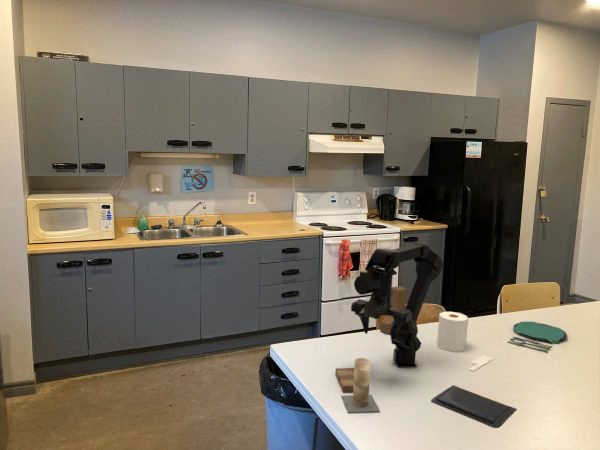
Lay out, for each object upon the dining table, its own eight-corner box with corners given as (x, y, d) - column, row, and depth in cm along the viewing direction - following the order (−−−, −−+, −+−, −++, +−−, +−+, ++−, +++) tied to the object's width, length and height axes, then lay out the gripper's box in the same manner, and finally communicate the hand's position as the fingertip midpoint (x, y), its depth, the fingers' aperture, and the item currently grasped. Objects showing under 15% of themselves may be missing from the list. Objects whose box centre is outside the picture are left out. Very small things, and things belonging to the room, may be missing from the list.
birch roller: (368, 400, 140) (371, 359, 138) (367, 407, 135) (370, 365, 134) (353, 398, 141) (355, 357, 139) (351, 405, 136) (354, 363, 134)
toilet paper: (462, 354, 176) (465, 322, 174) (433, 347, 181) (436, 316, 179) (467, 345, 185) (470, 314, 183) (440, 339, 190) (442, 309, 188)
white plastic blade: (459, 367, 166) (459, 364, 165) (480, 356, 176) (480, 353, 176) (473, 372, 162) (473, 369, 162) (493, 361, 172) (493, 358, 172)
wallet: (429, 396, 141) (454, 380, 152) (428, 402, 142) (453, 386, 152) (496, 425, 127) (519, 406, 138) (496, 432, 128) (518, 412, 138)
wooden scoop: (386, 334, 192) (389, 291, 189) (379, 331, 196) (382, 288, 193) (404, 331, 197) (407, 288, 194) (396, 327, 200) (399, 285, 198)
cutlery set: (571, 334, 201) (572, 329, 200) (552, 357, 178) (552, 351, 178) (521, 322, 213) (521, 317, 213) (497, 342, 191) (497, 336, 191)
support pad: (371, 396, 143) (371, 394, 143) (379, 412, 134) (380, 410, 134) (341, 396, 142) (341, 395, 142) (348, 413, 133) (348, 411, 133)
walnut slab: (335, 374, 156) (335, 368, 156) (356, 373, 157) (356, 368, 157) (343, 392, 144) (343, 386, 144) (365, 392, 145) (366, 385, 145)
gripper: (344, 289, 151) (341, 337, 153) (400, 301, 141) (397, 352, 143) (360, 282, 160) (357, 327, 163) (414, 292, 150) (410, 340, 153)
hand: (379, 336), depth 155 cm, fingers open, 9 cm apart
